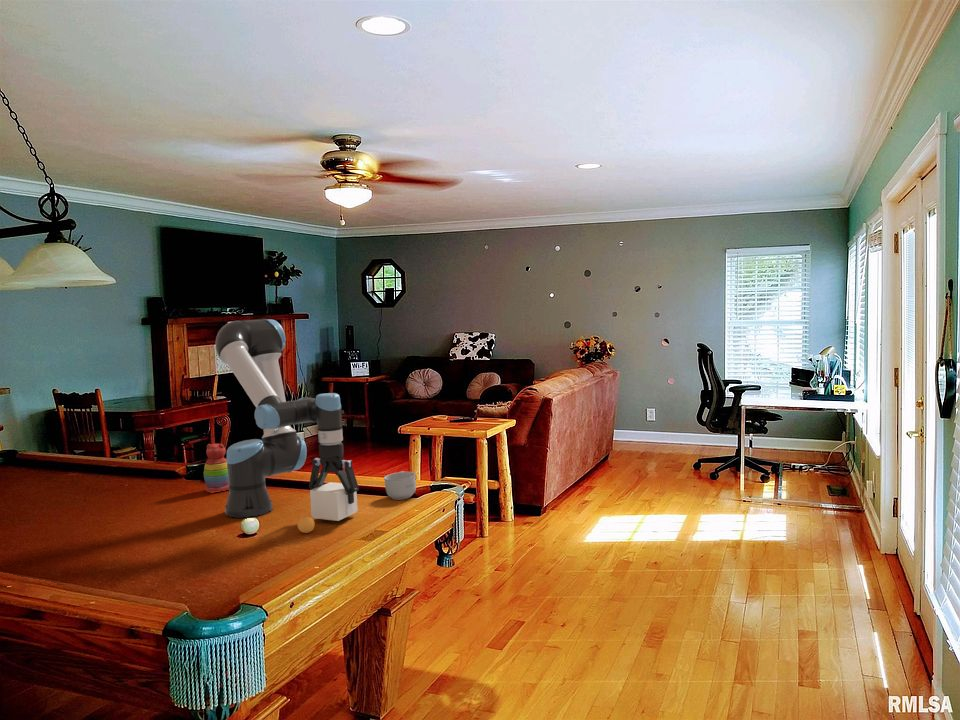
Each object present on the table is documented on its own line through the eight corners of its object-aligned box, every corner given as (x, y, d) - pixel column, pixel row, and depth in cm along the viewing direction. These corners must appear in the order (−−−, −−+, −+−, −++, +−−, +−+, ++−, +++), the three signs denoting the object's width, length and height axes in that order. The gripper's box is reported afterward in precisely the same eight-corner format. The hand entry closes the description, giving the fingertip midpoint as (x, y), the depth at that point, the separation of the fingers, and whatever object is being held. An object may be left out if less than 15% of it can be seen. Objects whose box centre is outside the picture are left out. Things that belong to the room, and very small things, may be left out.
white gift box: (311, 517, 230) (309, 490, 229) (331, 508, 239) (330, 482, 239) (338, 520, 226) (336, 492, 225) (357, 511, 235) (356, 484, 234)
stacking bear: (239, 486, 281) (235, 440, 280) (224, 493, 271) (220, 446, 270) (213, 486, 284) (210, 440, 282) (198, 493, 274) (194, 446, 272)
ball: (294, 534, 219) (293, 517, 219) (305, 529, 224) (304, 513, 223) (308, 536, 217) (306, 519, 216) (318, 531, 221) (317, 514, 221)
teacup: (411, 502, 249) (410, 478, 248) (380, 501, 251) (379, 478, 251) (422, 491, 263) (421, 469, 262) (393, 490, 265) (392, 469, 264)
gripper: (294, 443, 232) (298, 512, 234) (353, 446, 222) (358, 518, 224) (309, 439, 239) (313, 505, 241) (367, 442, 229) (372, 511, 231)
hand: (335, 512), depth 233 cm, fingers closed on white gift box, 10 cm apart
